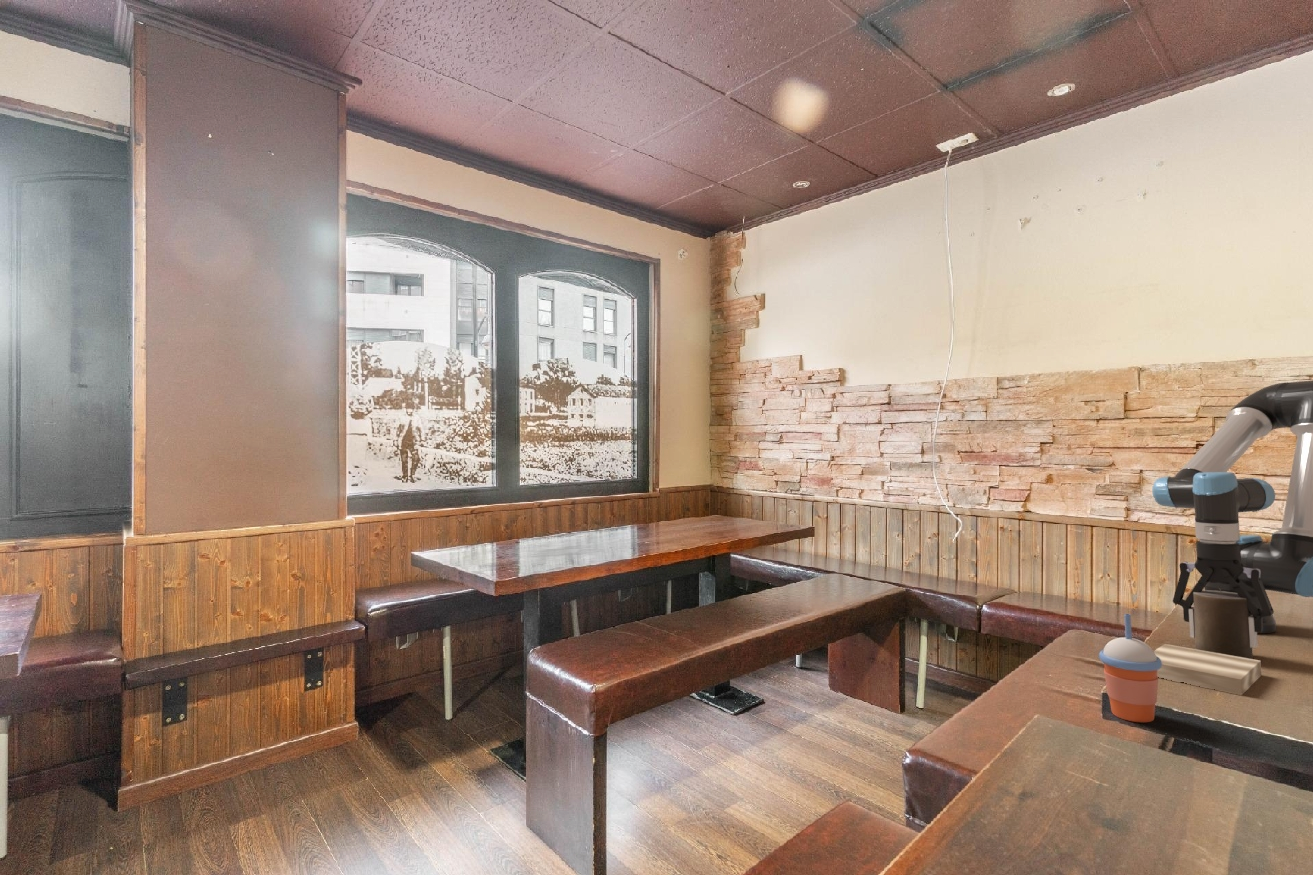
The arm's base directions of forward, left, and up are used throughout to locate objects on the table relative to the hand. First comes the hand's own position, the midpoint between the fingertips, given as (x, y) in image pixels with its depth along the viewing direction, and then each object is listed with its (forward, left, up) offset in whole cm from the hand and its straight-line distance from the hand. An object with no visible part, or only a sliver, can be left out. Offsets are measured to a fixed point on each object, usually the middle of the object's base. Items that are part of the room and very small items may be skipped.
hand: (1223, 641), depth 145 cm
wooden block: (+18, 0, -3) cm, 18 cm away
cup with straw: (+51, -2, -3) cm, 51 cm away
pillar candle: (0, 0, -3) cm, 3 cm away
